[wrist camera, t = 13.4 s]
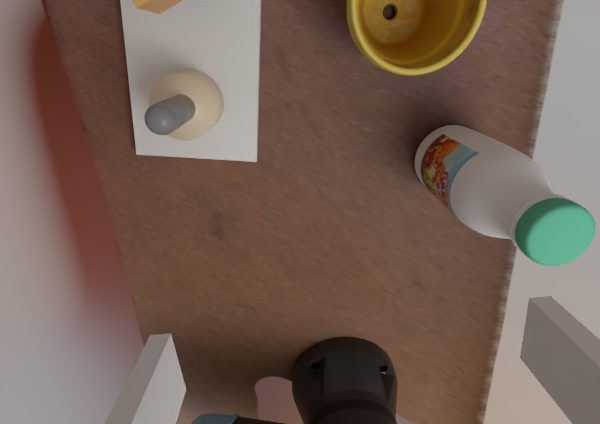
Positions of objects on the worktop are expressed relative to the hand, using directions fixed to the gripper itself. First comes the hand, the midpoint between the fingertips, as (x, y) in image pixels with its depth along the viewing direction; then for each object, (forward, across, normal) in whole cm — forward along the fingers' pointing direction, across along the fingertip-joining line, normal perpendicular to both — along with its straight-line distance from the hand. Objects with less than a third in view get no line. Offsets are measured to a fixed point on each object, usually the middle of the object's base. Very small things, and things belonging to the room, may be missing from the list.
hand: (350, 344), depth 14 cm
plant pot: (+30, -9, -14) cm, 34 cm away
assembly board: (+30, +10, -14) cm, 35 cm away
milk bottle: (+31, -16, +2) cm, 35 cm away
